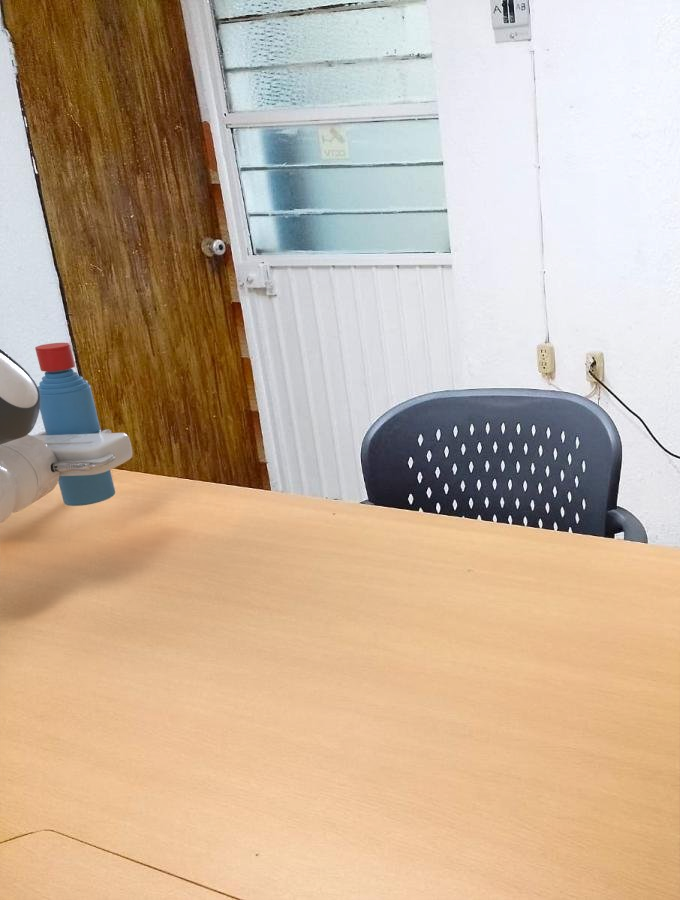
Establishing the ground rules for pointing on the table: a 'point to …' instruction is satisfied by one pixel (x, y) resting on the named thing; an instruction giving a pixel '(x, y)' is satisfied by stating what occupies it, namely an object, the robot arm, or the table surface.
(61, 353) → the cap
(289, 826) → the table surface
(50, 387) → the bottle
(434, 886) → the table surface
